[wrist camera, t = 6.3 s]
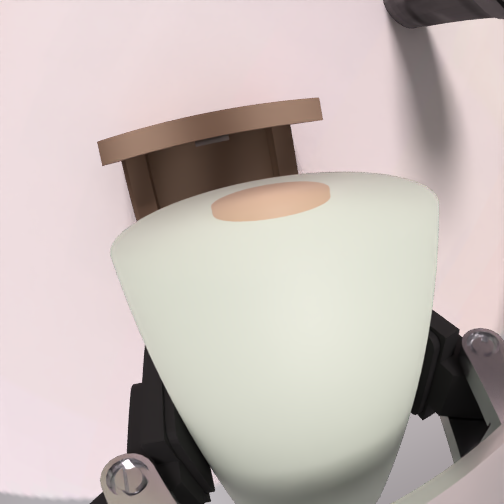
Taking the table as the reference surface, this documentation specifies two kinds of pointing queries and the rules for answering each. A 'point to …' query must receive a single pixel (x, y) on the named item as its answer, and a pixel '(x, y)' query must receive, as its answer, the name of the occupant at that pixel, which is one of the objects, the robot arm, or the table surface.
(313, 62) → the table surface
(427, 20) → the beverage cup
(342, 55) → the table surface
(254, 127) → the walnut cradle
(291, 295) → the paper roll
